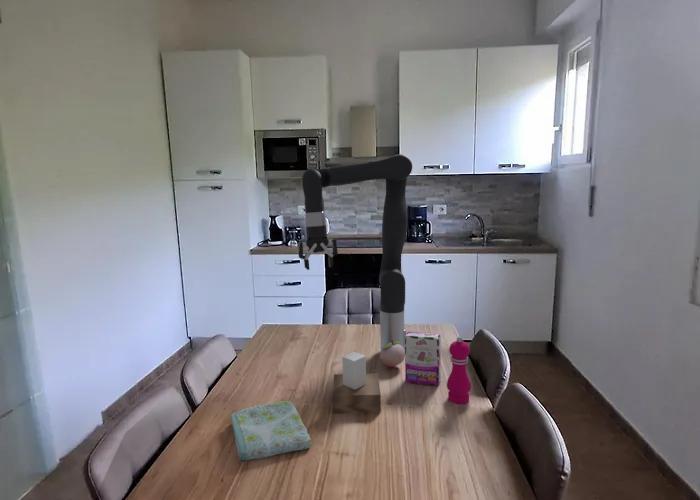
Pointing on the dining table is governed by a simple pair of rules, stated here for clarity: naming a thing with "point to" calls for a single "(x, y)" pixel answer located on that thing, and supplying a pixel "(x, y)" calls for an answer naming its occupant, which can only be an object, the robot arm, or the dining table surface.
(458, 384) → the pepper mill
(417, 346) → the candy bar box
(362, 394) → the walnut block
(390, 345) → the decorative fruit
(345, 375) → the pale grey block
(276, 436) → the towel
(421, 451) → the dining table surface
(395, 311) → the robot arm
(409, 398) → the dining table surface
